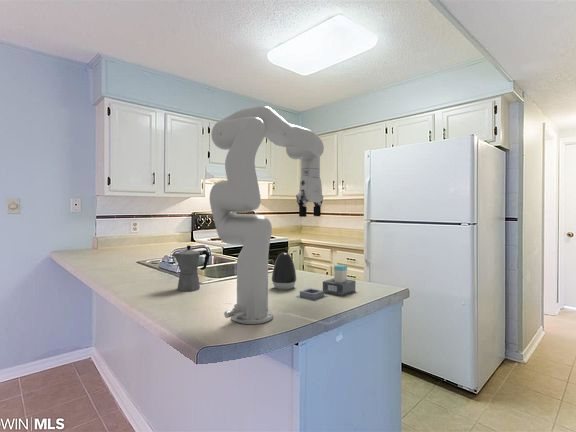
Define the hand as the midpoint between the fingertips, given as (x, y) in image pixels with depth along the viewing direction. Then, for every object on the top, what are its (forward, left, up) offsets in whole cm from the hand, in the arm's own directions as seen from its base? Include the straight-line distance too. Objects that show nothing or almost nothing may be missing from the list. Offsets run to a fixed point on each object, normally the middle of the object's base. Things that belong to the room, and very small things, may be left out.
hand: (310, 216), depth 135 cm
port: (+5, -11, -30) cm, 33 cm away
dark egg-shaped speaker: (-4, +10, -31) cm, 32 cm away
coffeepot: (-29, +39, -31) cm, 57 cm away
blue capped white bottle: (+5, -11, -29) cm, 32 cm away
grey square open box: (-8, -7, -30) cm, 32 cm away
